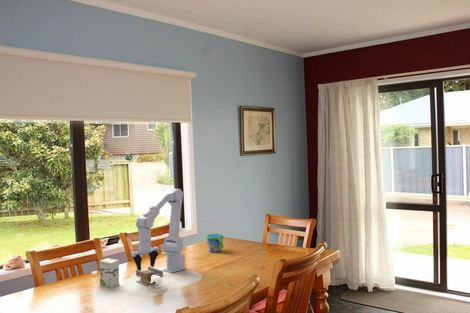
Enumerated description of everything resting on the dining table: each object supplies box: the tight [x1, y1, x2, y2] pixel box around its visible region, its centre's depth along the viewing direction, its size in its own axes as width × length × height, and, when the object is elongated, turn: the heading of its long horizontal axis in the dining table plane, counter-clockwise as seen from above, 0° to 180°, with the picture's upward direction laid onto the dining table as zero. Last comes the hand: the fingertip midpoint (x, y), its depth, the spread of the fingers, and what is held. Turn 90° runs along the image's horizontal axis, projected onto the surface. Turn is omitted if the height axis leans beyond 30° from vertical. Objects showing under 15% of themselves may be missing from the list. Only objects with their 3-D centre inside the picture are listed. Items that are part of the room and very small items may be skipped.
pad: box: [135, 279, 148, 286], centre depth 206 cm, size 6×8×1 cm
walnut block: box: [139, 269, 156, 285], centre depth 205 cm, size 4×6×5 cm
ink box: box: [99, 257, 120, 288], centre depth 204 cm, size 9×5×12 cm, turn 60°
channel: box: [135, 266, 164, 277], centre depth 217 cm, size 8×12×2 cm
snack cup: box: [205, 233, 224, 254], centre depth 264 cm, size 16×10×10 cm
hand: (145, 268), depth 206 cm, fingers open, 7 cm apart
